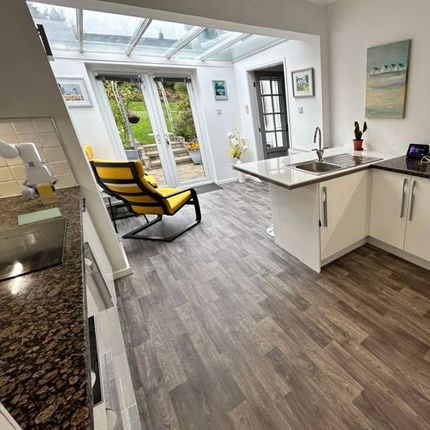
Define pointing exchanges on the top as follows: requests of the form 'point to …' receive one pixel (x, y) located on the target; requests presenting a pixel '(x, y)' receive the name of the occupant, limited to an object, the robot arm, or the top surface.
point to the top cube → (45, 190)
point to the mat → (38, 216)
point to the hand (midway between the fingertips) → (46, 193)
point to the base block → (49, 199)
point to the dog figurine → (29, 192)
